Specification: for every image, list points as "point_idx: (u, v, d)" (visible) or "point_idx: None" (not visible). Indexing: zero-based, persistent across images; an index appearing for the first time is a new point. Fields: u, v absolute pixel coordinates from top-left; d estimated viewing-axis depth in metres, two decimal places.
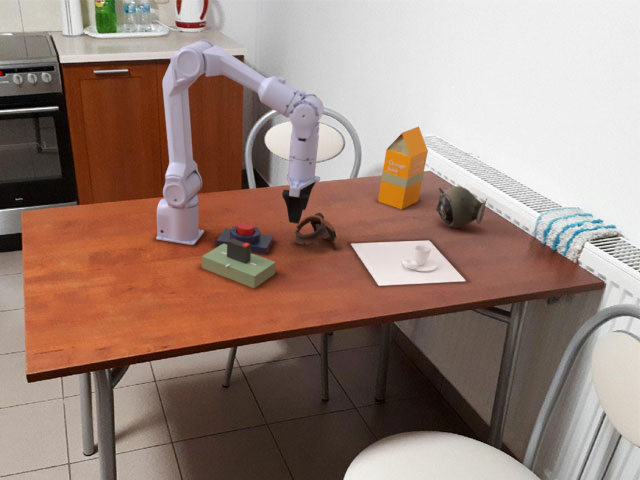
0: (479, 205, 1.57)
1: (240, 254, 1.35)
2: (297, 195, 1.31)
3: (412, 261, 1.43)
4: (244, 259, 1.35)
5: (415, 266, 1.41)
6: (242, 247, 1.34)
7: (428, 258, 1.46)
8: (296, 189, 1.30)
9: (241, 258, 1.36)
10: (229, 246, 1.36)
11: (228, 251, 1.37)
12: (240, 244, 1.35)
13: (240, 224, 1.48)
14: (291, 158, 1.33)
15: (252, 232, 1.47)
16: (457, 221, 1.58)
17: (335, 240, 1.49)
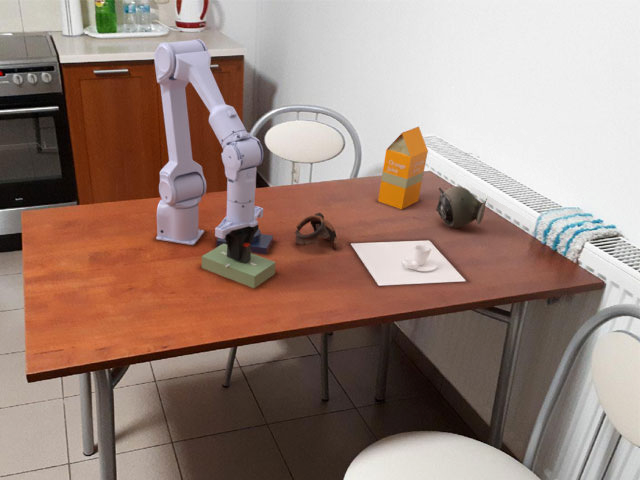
0: (479, 205, 1.57)
1: None
2: (221, 237, 1.28)
3: (412, 261, 1.43)
4: (244, 259, 1.35)
5: (415, 266, 1.41)
6: (242, 247, 1.34)
7: (428, 258, 1.46)
8: (220, 231, 1.27)
9: (241, 258, 1.36)
10: None
11: (228, 251, 1.37)
12: None
13: None
14: (227, 199, 1.30)
15: None
16: (457, 221, 1.58)
17: (335, 240, 1.49)
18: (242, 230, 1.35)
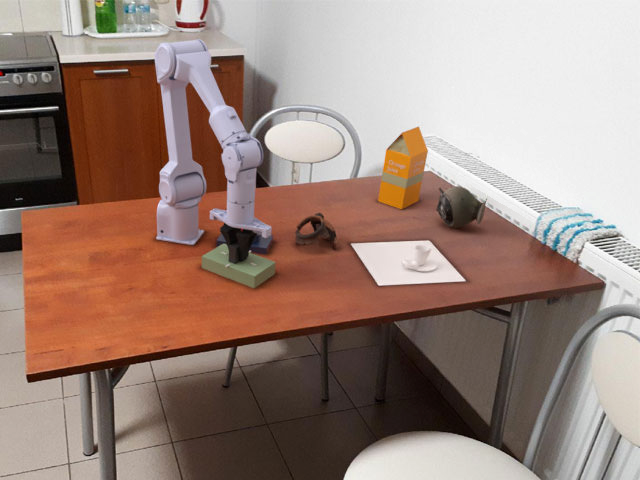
0: (479, 205, 1.57)
1: None
2: (270, 233, 1.30)
3: (412, 261, 1.43)
4: None
5: (415, 266, 1.41)
6: None
7: (428, 258, 1.46)
8: (270, 228, 1.29)
9: None
10: (237, 251, 1.34)
11: (236, 257, 1.35)
12: None
13: None
14: (242, 205, 1.28)
15: None
16: (457, 221, 1.58)
17: (335, 240, 1.49)
18: (235, 231, 1.35)
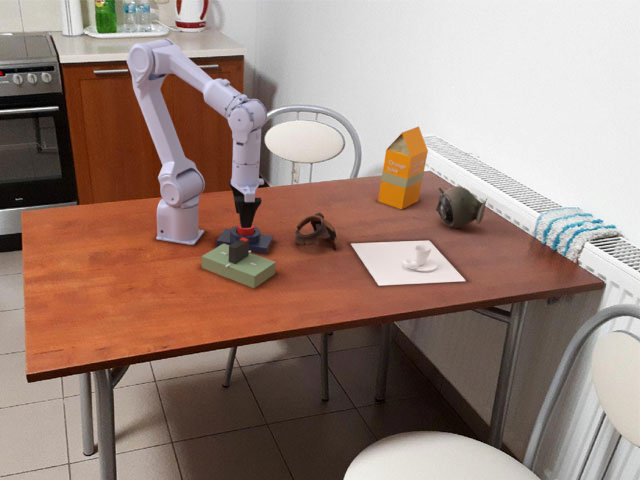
0: (479, 205, 1.57)
1: (245, 250, 1.37)
2: (253, 200, 1.31)
3: (412, 261, 1.43)
4: (247, 253, 1.38)
5: (415, 266, 1.41)
6: (247, 242, 1.36)
7: (428, 258, 1.46)
8: (252, 194, 1.30)
9: (245, 254, 1.37)
10: (237, 251, 1.34)
11: (236, 257, 1.35)
12: (242, 242, 1.36)
13: (240, 224, 1.48)
14: (237, 164, 1.32)
15: (252, 232, 1.47)
16: (457, 221, 1.58)
17: (335, 240, 1.49)
18: None
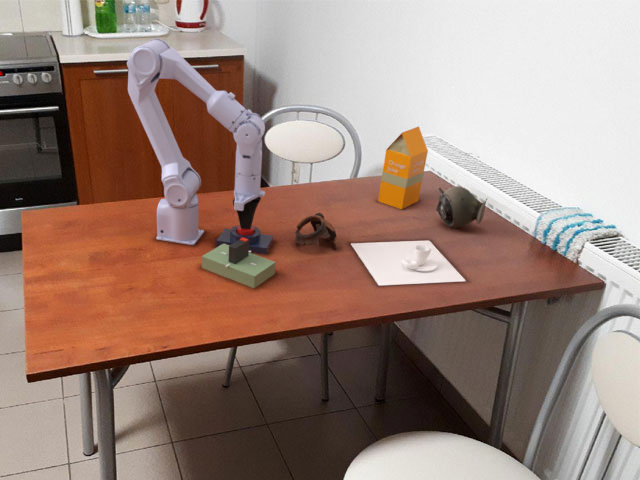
0: (479, 205, 1.57)
1: (245, 250, 1.37)
2: (241, 209, 1.38)
3: (412, 261, 1.43)
4: (247, 253, 1.38)
5: (415, 266, 1.41)
6: (247, 242, 1.36)
7: (428, 258, 1.46)
8: (240, 203, 1.37)
9: (245, 254, 1.37)
10: (237, 251, 1.34)
11: (236, 257, 1.35)
12: (242, 242, 1.36)
13: (240, 226, 1.48)
14: (236, 174, 1.40)
15: None
16: (457, 221, 1.58)
17: (335, 240, 1.49)
18: None
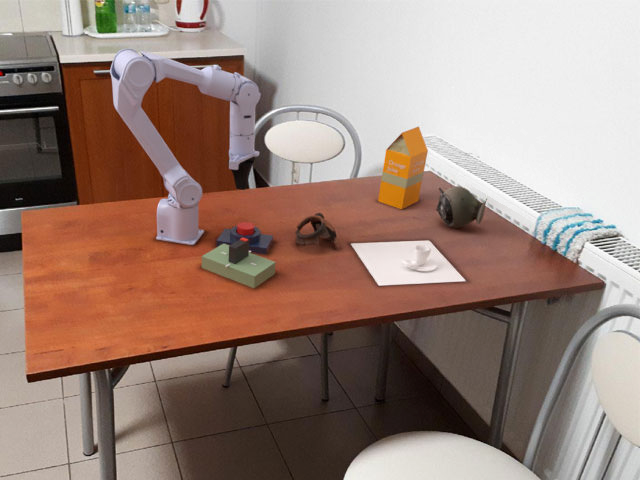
0: (479, 205, 1.57)
1: (245, 250, 1.37)
2: (236, 168, 1.42)
3: (412, 261, 1.43)
4: (247, 253, 1.38)
5: (415, 266, 1.41)
6: (247, 242, 1.36)
7: (428, 258, 1.46)
8: (235, 162, 1.42)
9: (245, 254, 1.37)
10: (237, 251, 1.34)
11: (236, 257, 1.35)
12: (242, 242, 1.36)
13: (240, 224, 1.48)
14: (231, 134, 1.44)
15: (252, 232, 1.47)
16: (457, 221, 1.58)
17: (335, 240, 1.49)
18: None
